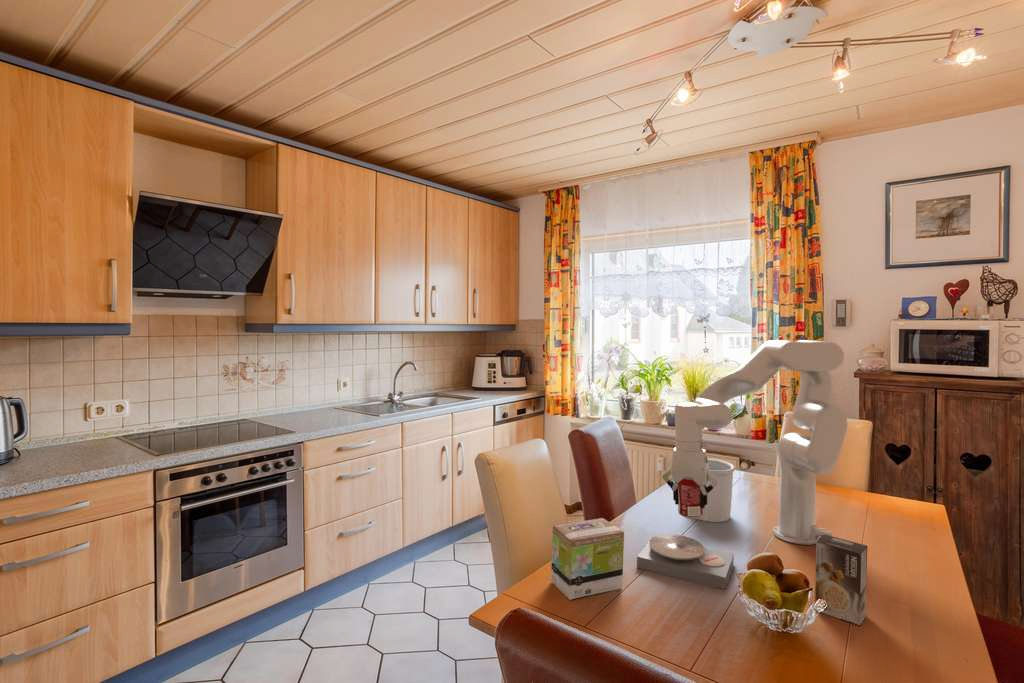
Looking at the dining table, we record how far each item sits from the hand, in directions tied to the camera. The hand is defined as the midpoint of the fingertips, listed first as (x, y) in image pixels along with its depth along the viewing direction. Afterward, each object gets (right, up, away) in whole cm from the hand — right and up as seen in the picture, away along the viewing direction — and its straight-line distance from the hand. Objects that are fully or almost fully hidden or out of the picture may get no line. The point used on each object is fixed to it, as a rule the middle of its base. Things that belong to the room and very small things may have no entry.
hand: (690, 504), depth 155 cm
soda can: (0, -3, 0) cm, 3 cm away
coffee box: (+22, -14, -36) cm, 44 cm away
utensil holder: (+14, -11, +23) cm, 29 cm away
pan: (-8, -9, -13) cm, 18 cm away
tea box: (-34, -13, -25) cm, 44 cm away
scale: (-6, -12, -14) cm, 20 cm away
